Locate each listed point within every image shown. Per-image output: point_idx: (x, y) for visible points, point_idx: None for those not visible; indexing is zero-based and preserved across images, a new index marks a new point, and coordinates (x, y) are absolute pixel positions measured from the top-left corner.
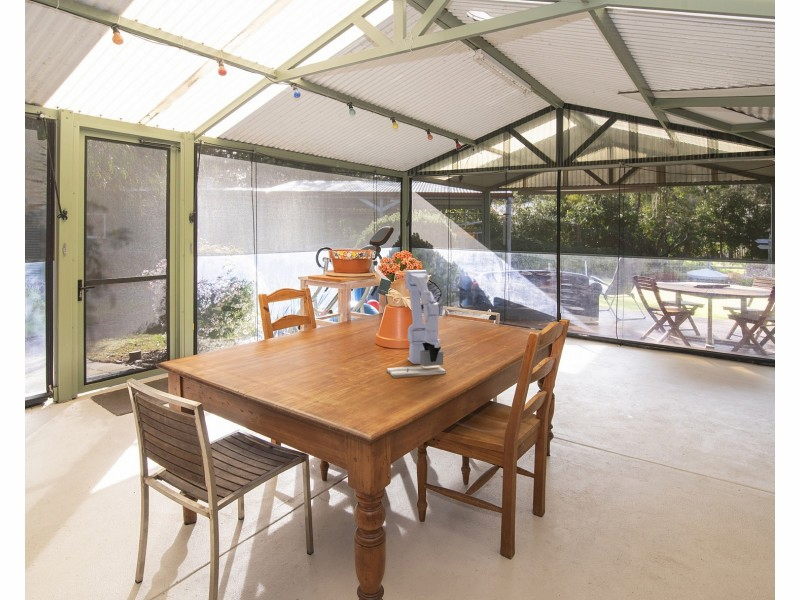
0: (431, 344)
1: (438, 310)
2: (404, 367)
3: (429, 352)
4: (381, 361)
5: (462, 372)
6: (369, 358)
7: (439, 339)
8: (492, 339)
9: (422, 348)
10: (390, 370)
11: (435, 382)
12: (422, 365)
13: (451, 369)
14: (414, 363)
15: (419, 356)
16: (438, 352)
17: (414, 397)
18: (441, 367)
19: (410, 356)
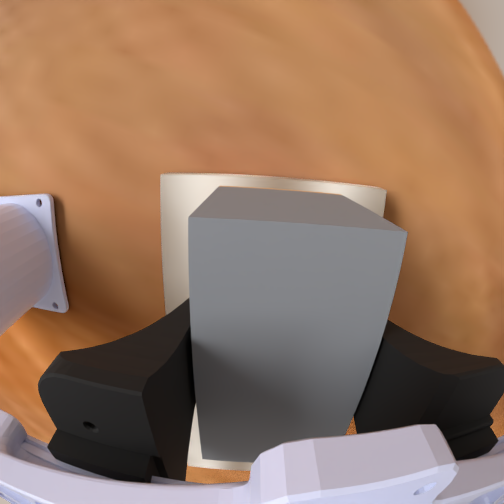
0: (164, 425)
1: None
2: (193, 416)
3: (329, 420)
4: (37, 405)
5: (381, 50)
6: (11, 412)
7: (411, 492)
8: None
9: None
10: (232, 467)
11: (466, 323)
12: (168, 309)
13: (276, 79)
14: (67, 304)
15: (28, 287)
16: (387, 318)
17: (498, 412)
18: (281, 179)
19: None
